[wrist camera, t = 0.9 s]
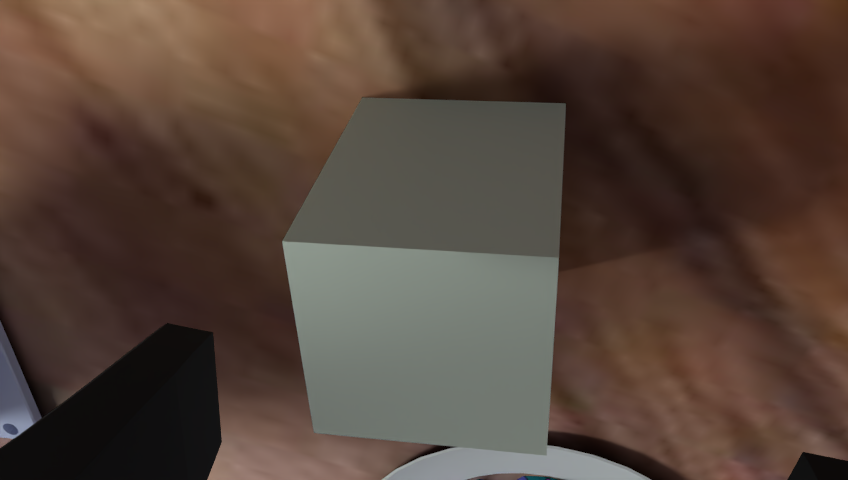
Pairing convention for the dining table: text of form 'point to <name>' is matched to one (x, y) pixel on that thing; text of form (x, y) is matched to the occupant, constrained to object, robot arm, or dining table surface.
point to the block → (433, 274)
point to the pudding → (513, 466)
